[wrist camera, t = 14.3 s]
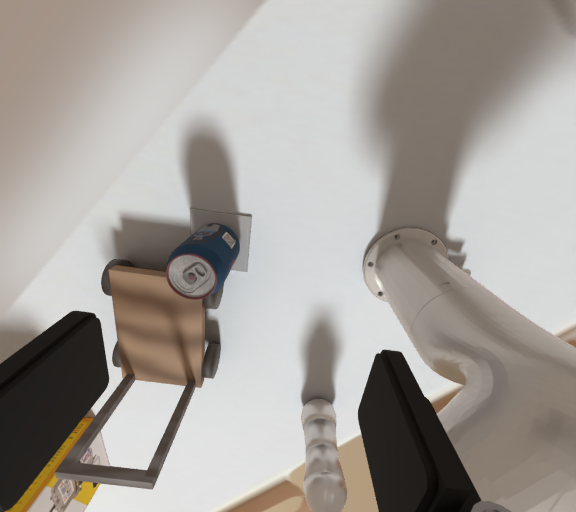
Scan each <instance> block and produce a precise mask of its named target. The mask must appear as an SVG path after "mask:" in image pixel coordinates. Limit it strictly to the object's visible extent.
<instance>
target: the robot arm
mask: <svg viewBox="0 0 576 512" xmlns="http://www.w3.org/2000/svg"><path fill="white" fill-rule="evenodd" d="M395 235H397V236H396V237H394V236H395ZM432 240H433V241H432ZM431 241H432V242H431ZM369 262H370V263H369ZM368 263H369V264H368ZM470 274H471V273H470V270H469V269H464V268H459V267H457V266H456V265H455V264H453V263H452V262H451V261H449V258H448V253H447V250H446V248H445V246H444V244H443V243H442V242H441V241H440V239H438V238H437V237H436V236H435V235H433V234H431V233H430V232H428V231H425V230H422V229H418V228H402V229H398V230H394V231H392V232H390V233H387V234H386V235H384V236H383V237H381V238H380V239H379V240H377V241H376V242H375V243H374V244H373V246H372V247H371V248H370V249H369V251H368V253H367V255H366V257H365V260H364V264H363V275H364V279H365V282H366V284H367V286H368V288H369V290H370V291H371V292H372V293H373V294H374V295H375V296H376V297H377V298H379V299H381V300H382V301H385V302H388V303H389V304H390V306H391V308H392V309H393V311H394V313H395V315H396V316H397V318H398V320H399V321H400V323H401V325H402V326H403V328H404V330H405V332H406V333H407V335H408V337H409V338H410V340H411V342H412V344H413V345H414V347H415V348H416V350H417V352H418V354H419V355H420V357H421V358H422V359H423V361H424V362H425V363H426V364H427V365H428V366H429V367H430V368H431V369H432V370H433V371H435V372H436V373H437V374H439V375H441V376H442V377H444V378H446V379H449V380H451V381H453V382H456V383H459V384H462V385H465V386H464V387H463V389H462V390H461V391H460V392H459V393H458V394H457V395H456V396H455V397H454V398H453V399H452V400H451V401H450V402H449V404H447V405H446V406H445V407H444V408H443V409H442V410H441V411H440V412H439V413H437V414H436V412H435V410H434V408H433V406H432V404H431V403H430V401H429V400H428V399H427V398H426V397H424V395H423V393H422V391H421V389H420V387H419V385H418V383H417V381H416V379H415V377H414V375H413V373H412V371H411V369H410V367H409V365H408V363H407V362H406V360H405V358H404V356H403V354H402V353H401V352H399V351H391V350H382V352H381V354H379V353H377V354H376V356H375V359H374V362H373V365H372V368H371V371H370V374H369V378H368V381H367V384H366V387H365V390H364V393H363V396H362V399H361V403H360V406H359V409H358V420H359V425H360V429H361V434H362V438H363V442H364V447H365V451H366V456H367V460H368V464H369V469H370V474H371V478H372V482H373V487H374V492H375V496H376V501H377V505H378V509H379V512H576V348H575V347H574V346H572V345H570V344H568V343H566V342H564V341H563V340H561V339H559V338H558V337H556V336H554V335H553V334H551V333H549V332H548V331H546V330H544V329H543V328H541V327H539V326H538V325H536V324H535V323H533V322H532V321H530V320H529V319H527V318H526V317H525V316H523V315H522V314H520V313H519V312H517V311H516V310H515V309H513V308H512V307H510V306H509V305H508V304H506V303H505V302H504V301H502V300H501V299H500V298H498V297H497V296H496V295H494V294H493V293H492V292H490V291H489V290H488V289H486V288H485V287H484V286H482V285H481V284H480V283H478V282H477V281H476V280H474V279H473V278H472V277H470ZM108 383H109V374H108V368H107V361H106V355H105V348H104V342H103V335H102V329H101V323H100V320H99V319H98V318H96V315H95V314H94V313H89V312H81V311H72V312H70V313H69V314H67V315H66V316H65V317H63V318H62V319H61V320H59V321H58V322H56V323H55V324H54V325H52V326H51V327H50V328H48V329H47V330H46V331H44V332H43V333H42V334H40V335H39V336H37V337H36V338H35V339H33V340H32V341H31V342H29V343H28V344H27V345H25V346H24V347H23V348H21V349H20V350H18V351H17V352H16V353H14V354H13V355H12V356H10V357H9V358H8V359H6V360H5V361H4V362H2V363H1V364H0V512H4V511H7V510H9V509H11V508H12V507H13V506H14V505H15V504H16V503H17V502H18V501H19V499H20V498H21V497H22V496H23V494H24V493H25V492H26V490H27V489H28V488H29V487H30V485H31V484H32V483H33V482H34V480H35V479H36V478H37V476H38V475H39V474H40V473H41V471H42V470H43V469H44V467H45V466H46V465H47V464H48V462H49V461H50V460H51V459H52V457H53V456H54V455H55V453H56V452H57V451H58V450H59V448H60V447H61V446H62V444H63V443H64V442H65V441H66V439H67V438H68V437H69V436H70V434H71V433H72V432H73V430H74V429H75V428H76V427H77V425H78V424H79V423H80V421H81V420H82V419H83V418H84V416H85V415H86V414H87V413H88V411H89V410H90V409H91V407H92V406H93V405H94V404H95V402H96V401H97V400H98V399H99V397H100V396H101V395H102V393H103V392H104V391H105V389H106V388H107V386H108Z"/></svg>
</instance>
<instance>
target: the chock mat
mask: <svg viewBox="0 0 576 512" xmlns="http://www.w3.org/2000/svg"><path fill="white" fill-rule="evenodd" d="M251 220H252V217H251V216H244V215H236V214H229V213H221V212H214V211H207V210H199V209H192V208H191V209H190V235H191V236H192V235H193V234H194V233H195V232H196V231H197V230H198V229H200V228H201V227H202V226H204V225H207V224H211V223H218V224H222V225H225V226H227V227H228V228H230V229H231V230H232V231H233V232H234V233H235V234H236V236H237V238H238V240H239V243H240V252H239V255H238V257H237V259H236V261H235V263H234V264H233V266H232V268H231V270H236V271H244V272H247V269H248V257H249V245H250V232H251Z"/></svg>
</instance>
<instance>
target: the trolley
mask: <svg viewBox="0 0 576 512" xmlns="http://www.w3.org/2000/svg"><path fill="white" fill-rule="evenodd" d="M101 285H102V290H103V292H104V293H105V294H106V295H109V296H112V300H113V308H114V315H115V323H116V331H117V338H118V341H117V343H116V345H115V348H114V351H113V356H112V361H113V365H114V366H115V367H121V369H122V377H123V378H124V379H123V380H122V382H121V383H120V384H119V386H118V387H117V388H116V390H115V391H114V392H113V394H112V395H111V396H110V398H109V399H108V400H107V402H106V403H105V404H104V406H103V407H102V408H101V410H100V411H99V413H98V414H97V415H96V417H95V418H94V419H93V421H92V422H91V423H90V425H89V426H88V427H87V429H86V430H85V431H84V433H83V434H82V435H81V437H80V438H79V439H78V441H77V442H76V444H75V445H74V446H73V448H72V449H71V450H70V452H69V453H68V454H67V456H66V457H65V458H64V460H63V461H62V462H61V464H60V465H59V466H58V468H57V469H56V470H55V472H54V473H55V476H56V478H57V479H66V480H74V481H83V482H92V483H101V484H110V485H119V486H128V487H137V488H145V489H153V488H154V485H155V483H156V481H157V478H158V476H159V473H160V471H161V469H162V466H163V464H164V461H165V459H166V457H167V454H168V452H169V450H170V447H171V445H172V442H173V440H174V438H175V435H176V433H177V430H178V428H179V426H180V423H181V421H182V418H183V416H184V414H185V411H186V409H187V406H188V404H189V402H190V399H191V397H192V395H193V392H194V390H195V387H199V388H201V386H202V384H203V381H204V378H212V379H213V378H214V376H215V374H216V371H217V368H218V364H219V359H220V350H221V347H220V344H214V343H210V344H209V345H208V347H207V350H206V352H205V308H211V309H217V308H218V306H219V304H220V301H221V297H222V293H223V285H224V283H223V285H222V286H221V288H220V289H219V290H218V291H217V292H215V293H214V294H212V295H209V296H207V297H206V298H203V299H200V300H191V299H186V298H183V297H181V296H179V295H178V294H176V293H175V292H174V291H173V290H172V289H171V287H170V286H169V284H168V282H167V279H166V272H165V271H157V270H150V269H142V268H134V267H133V264H132V263H131V262H130V261H127V260H120V259H114V260H112V261H110V262H109V263H108V264H107V266H106V267H105V269H104V271H103V274H102V280H101ZM204 355H205V356H204ZM135 380H141V381H149V382H158V383H166V384H174V385H182V386H186V387H185V389H184V391H183V394H182V396H181V398H180V400H179V402H178V404H177V407H176V409H175V411H174V413H173V415H172V418H171V420H170V422H169V424H168V426H167V428H166V431H165V433H164V435H163V437H162V439H161V441H160V444H159V446H158V448H157V450H156V452H155V454H154V457H153V459H152V461H151V463H150V465H149V467H148V470H138V469H130V468H121V467H112V466H103V465H95V464H86V463H79V461H80V460H81V458H82V457H83V455H84V454H85V452H86V451H87V449H88V448H89V447H90V445H91V444H92V442H93V441H94V439H95V438H96V436H97V435H98V433H99V432H100V431H101V429H102V428H103V426H104V425H105V423H106V422H107V420H108V419H109V417H110V416H111V415H112V413H113V412H114V410H115V409H116V407H117V406H118V404H119V403H120V401H121V400H122V399H123V397H124V396H125V394H126V393H127V391H128V390H129V388H130V387H131V385H132V384H133V383H134V381H135Z"/></svg>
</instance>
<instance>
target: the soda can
mask: <svg viewBox="0 0 576 512" xmlns="http://www.w3.org/2000/svg"><path fill="white" fill-rule="evenodd" d="M239 252H240V243H239V240H238V238H237V236H236V234H235V233H234V232H233V231H232V230H231V229H230V228H228V227H227V226H225V225H222V224H218V223H211V224H207V225H204V226H202V227H201V228H200V229H198V230H197V231H196V232H195V233H194V234H193V235H192V236H190V237H189V238H188V239H187V240H186V241H185V242H183V243H182V244H181V245H180V246H179V247H178V248H177V249H175V250H174V251H173V252H172V254H171V255H170V257H169V259H168V263H167V269H166V279H167V282H168V284H169V286H170V287H171V289H172V290H173V291H174V292H175V293H176V294H178V295H179V296H181V297H183V298H186V299H191V300H200V299H203V298H206V297H207V296H209V295H212V294H214V293H215V292H217V291H218V290H219V289H220V288H221V286H222V285H223V283H224V281H225V279H226V278H227V276H228V274H229V272H230V270H231V268H232V266H233V264H234V263H235V261H236V259H237V257H238V255H239Z"/></svg>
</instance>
